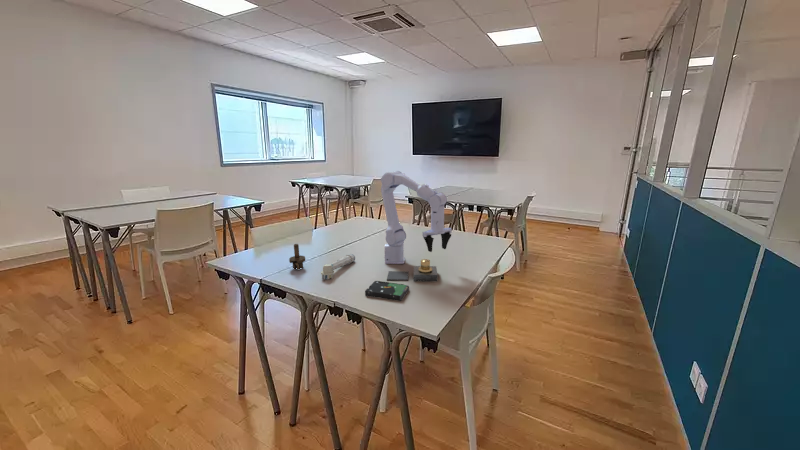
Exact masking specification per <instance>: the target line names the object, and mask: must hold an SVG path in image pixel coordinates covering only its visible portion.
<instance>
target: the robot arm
mask: <svg viewBox="0 0 800 450" xmlns="http://www.w3.org/2000/svg"><path fill="white" fill-rule="evenodd" d="M380 182H381V185H380V186H381V188H380V192H381V197H382V201H383V206H384V212H385V216H386V221H387V228H386V230H385V242H386V243H385V244H384V264H385V265H386V264H387V265H389V264H392V265H393V264H394V265H395V264H396V265H402V264H403V265H404V264H405V260H406V259H405V253H404V251H405V250H404V249H405V248H404V243H405V241H406V239H407V233H406V231H405V230H404V226H403V225H402V224H400V221H399V215H398V211H397V205H396V201H395V196H394V195H395V194H394V192H395V190H396V188H397V187H399V186H400V185H403V186H405V187H407V188H409V190H413V191H415V193H416V195H417V197H419V198H421V199H422V200H423V201H425V202H427V203H428V204H429V206H430V211H431V212H430V229H429V230H426V231H422V233H421V235H422V238H423V240H424V241H425V245H426V246H427V250H428V252H430V253H432V252H433V242H434V239H435V238H434V237H433V236H438V235H440V237H441V248H442V249H443V250H446V249H447V246H448V243H449V242H450V238H451V237H452V231H453V229H452V228H451V227H445V205H446V204H447V200H448V199H447V196H446V194H444V193H443V192H438V191H437V190H436V189H435V190H434V189H432V188H430V187H429V185H428V184H422V185H421V184H419V183H417V182H416V181H414V180H413V179H412V178H410V177H409V176H407V175H406V174H405V173H403V172H402V171H399V170H396V171H392V172H389V171H388V172H385V173H383V175H382V177H380Z"/></svg>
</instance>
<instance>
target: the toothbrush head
mask: <svg viewBox="0 0 800 450" xmlns="http://www.w3.org/2000/svg"><path fill="white" fill-rule="evenodd" d="M355 261H356V256H355V255H354V254H352V253H350V254H346V255H345V256H343V257H341V258H339V259H337V260H335V261H334V262H331V263H327V264H324V265H323V266H322V271H321V272H320V275H321V279H322V280H329V279H330V278H332V279H334V274H335V270H337V269H339V268H342V267H344V266H347V265H351V264H352V263H354V262H355Z"/></svg>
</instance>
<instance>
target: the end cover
mask: <svg viewBox="0 0 800 450" xmlns="http://www.w3.org/2000/svg"><path fill="white" fill-rule="evenodd" d="M420 266H421V267H419V268H418V271H419V272H420V273H430V272H431V271H432V268H431V267H430V266H431V260H430V259H428V258H427V259H426V258H423V259H421V260H420Z"/></svg>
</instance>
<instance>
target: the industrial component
mask: <svg viewBox="0 0 800 450" xmlns="http://www.w3.org/2000/svg"><path fill="white" fill-rule="evenodd" d="M299 247H300V246H299V243H294V244H293V250H294V251H293V252H294V253H293V254H294V255H293V256H290V257H289V259H288V261H289V264H292V269H293V268H294V269H296V268H297V269H300V268H303V269H304V263H305V261H306V256H305V255H300V248H299ZM294 269H293V270H294ZM300 270H301V269H300Z"/></svg>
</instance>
